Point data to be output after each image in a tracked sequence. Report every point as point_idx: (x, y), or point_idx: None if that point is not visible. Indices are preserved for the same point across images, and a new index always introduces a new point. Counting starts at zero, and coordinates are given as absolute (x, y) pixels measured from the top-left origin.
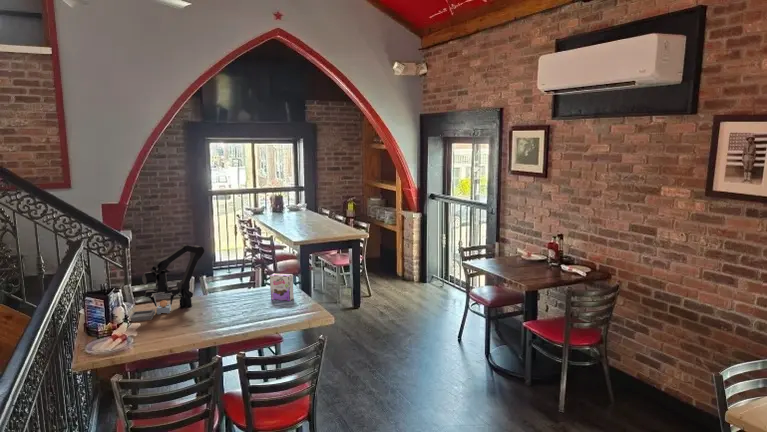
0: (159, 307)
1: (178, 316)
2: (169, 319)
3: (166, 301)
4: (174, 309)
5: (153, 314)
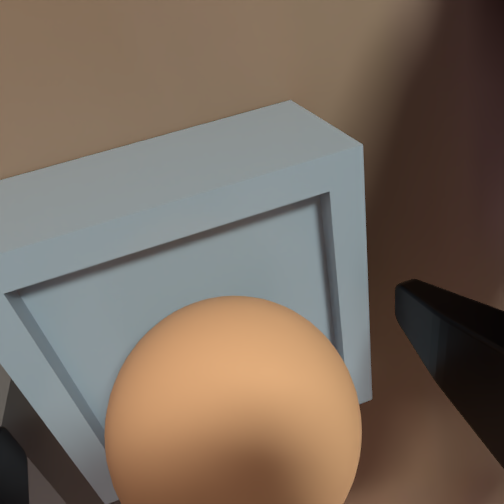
0: (85, 365)
1: (452, 409)
2: (367, 491)
3: (360, 446)
4: (358, 84)
5: (94, 494)
